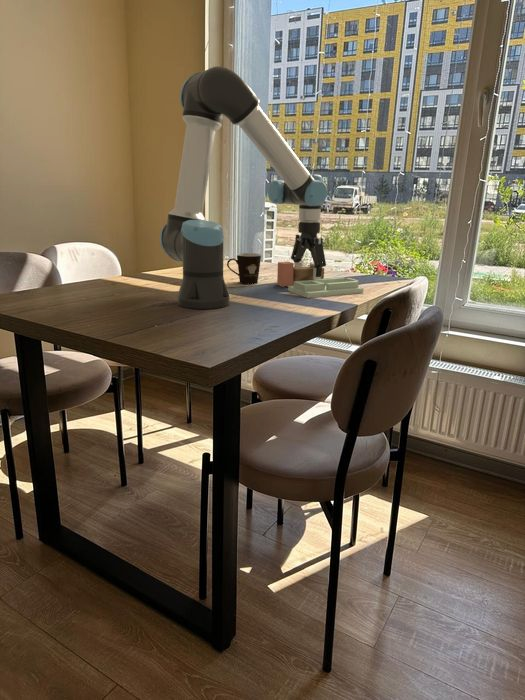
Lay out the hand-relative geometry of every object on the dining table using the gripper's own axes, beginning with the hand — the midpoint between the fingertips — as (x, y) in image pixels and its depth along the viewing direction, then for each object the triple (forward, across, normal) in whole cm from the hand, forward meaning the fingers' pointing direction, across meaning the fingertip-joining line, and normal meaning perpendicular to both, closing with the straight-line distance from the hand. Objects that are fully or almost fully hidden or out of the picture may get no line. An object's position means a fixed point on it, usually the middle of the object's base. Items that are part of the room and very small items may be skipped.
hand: (306, 283), depth 186 cm
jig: (0, -15, +2) cm, 15 cm away
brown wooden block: (0, -1, 0) cm, 1 cm away
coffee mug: (0, +10, +20) cm, 22 cm away
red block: (0, 0, +9) cm, 9 cm away
